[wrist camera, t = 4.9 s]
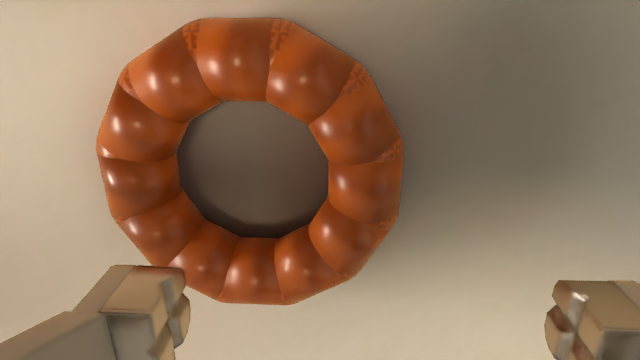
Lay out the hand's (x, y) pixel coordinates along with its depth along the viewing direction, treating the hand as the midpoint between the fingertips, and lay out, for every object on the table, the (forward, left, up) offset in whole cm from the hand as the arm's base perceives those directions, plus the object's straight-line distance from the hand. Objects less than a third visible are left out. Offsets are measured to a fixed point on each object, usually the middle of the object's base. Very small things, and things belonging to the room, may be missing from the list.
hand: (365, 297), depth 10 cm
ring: (+4, 0, -8) cm, 9 cm away
